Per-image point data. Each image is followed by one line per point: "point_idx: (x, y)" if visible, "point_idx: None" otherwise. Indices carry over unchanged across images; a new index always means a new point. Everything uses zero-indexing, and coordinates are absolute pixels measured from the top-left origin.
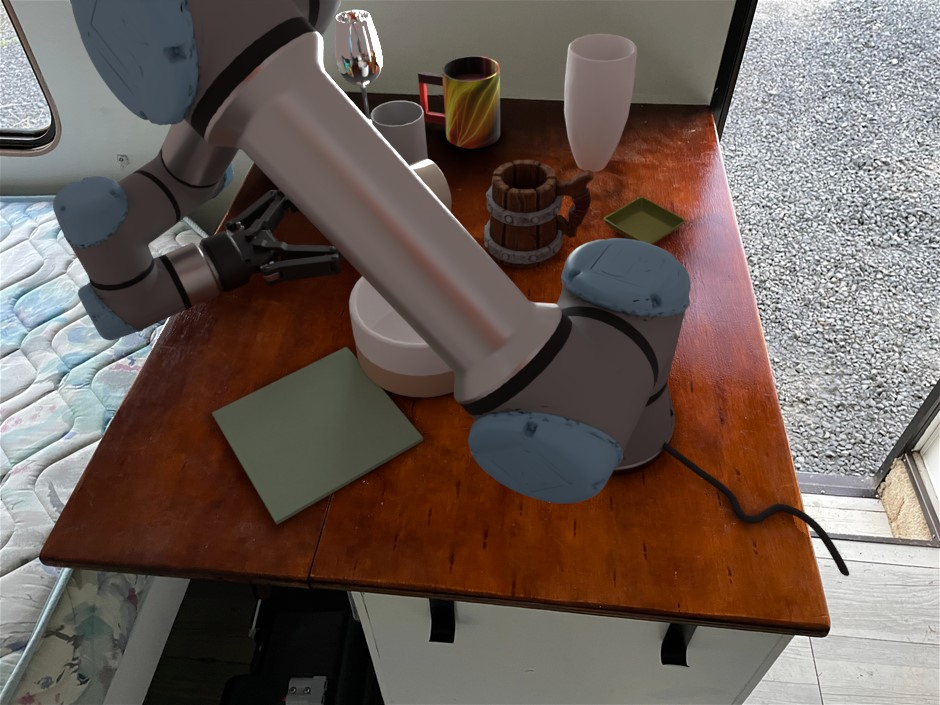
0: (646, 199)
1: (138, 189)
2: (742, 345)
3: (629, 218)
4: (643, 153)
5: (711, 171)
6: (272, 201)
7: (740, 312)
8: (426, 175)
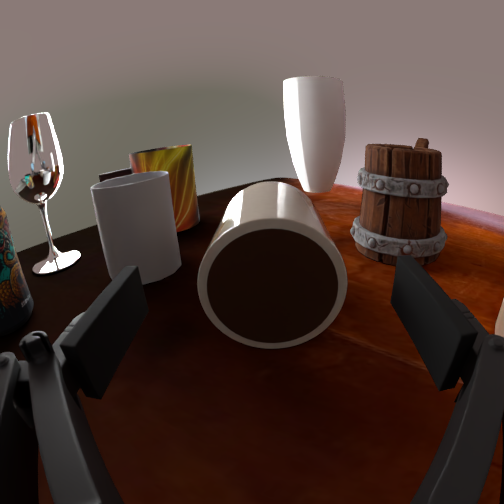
0: None
1: None
2: None
3: None
4: (305, 191)
5: (350, 186)
6: (18, 393)
7: (495, 215)
8: (294, 191)
